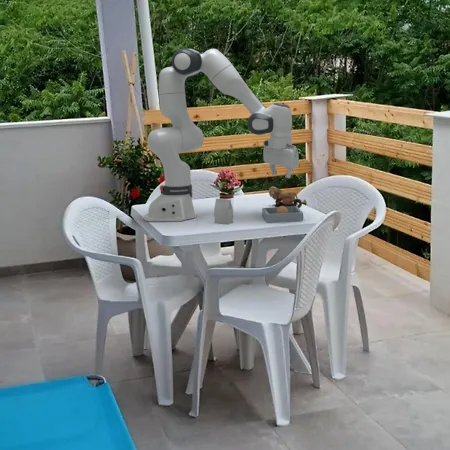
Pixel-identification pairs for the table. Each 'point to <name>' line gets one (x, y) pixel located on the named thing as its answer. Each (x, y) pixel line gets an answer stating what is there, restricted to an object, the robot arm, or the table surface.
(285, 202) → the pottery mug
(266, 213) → the gray square tray
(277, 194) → the lion figurine
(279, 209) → the rubber ball
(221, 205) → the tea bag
